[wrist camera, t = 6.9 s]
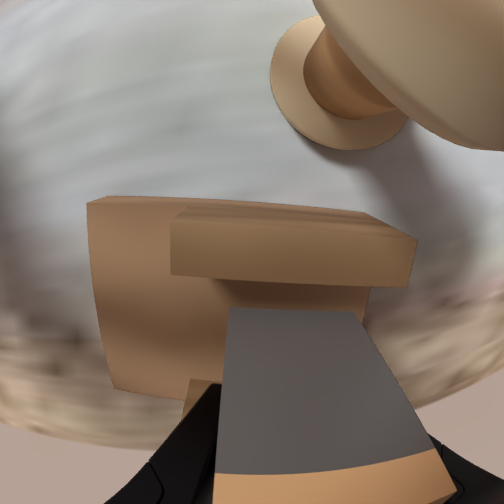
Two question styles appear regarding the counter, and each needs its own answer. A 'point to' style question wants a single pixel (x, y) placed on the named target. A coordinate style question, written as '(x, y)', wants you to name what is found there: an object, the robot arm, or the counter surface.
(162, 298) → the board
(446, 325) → the counter surface
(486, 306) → the counter surface
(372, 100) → the door knob
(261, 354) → the block
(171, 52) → the counter surface
